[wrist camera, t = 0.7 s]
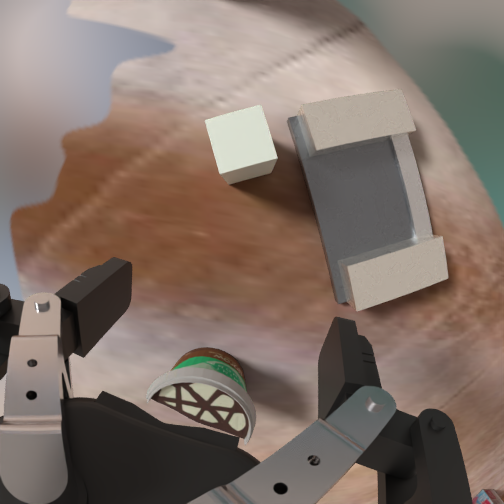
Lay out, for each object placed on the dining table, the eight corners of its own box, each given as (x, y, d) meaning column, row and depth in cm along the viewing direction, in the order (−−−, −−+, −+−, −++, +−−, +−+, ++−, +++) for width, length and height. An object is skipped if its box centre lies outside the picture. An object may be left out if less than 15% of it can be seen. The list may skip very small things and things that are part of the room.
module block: (217, 144, 36) (204, 120, 26) (259, 132, 35) (261, 104, 25) (229, 184, 36) (219, 174, 26) (271, 173, 36) (277, 158, 26)
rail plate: (287, 121, 35) (292, 106, 30) (390, 102, 35) (408, 88, 29) (335, 300, 38) (347, 314, 32) (432, 268, 37) (454, 275, 32)
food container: (272, 363, 39) (278, 407, 29) (250, 399, 39) (250, 446, 29) (183, 321, 38) (161, 355, 28) (165, 360, 39) (141, 400, 29)
